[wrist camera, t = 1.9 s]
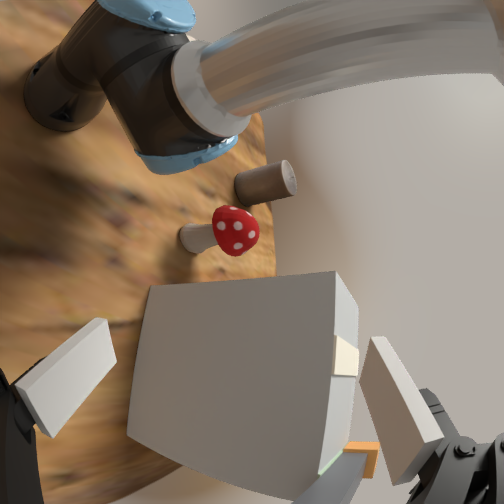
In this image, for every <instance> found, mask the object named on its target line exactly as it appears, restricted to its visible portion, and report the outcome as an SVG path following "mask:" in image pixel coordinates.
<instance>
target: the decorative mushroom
mask: <svg viewBox="0 0 504 504" xmlns="http://www.w3.org/2000/svg"><path fill="white" fill-rule="evenodd" d="M258 238H259V226H258V223H257V221H256V220H255V218H254V217H253V216H252V215H251V214H250V213H248V212H247V211H245V210H243V209H239V208H237V207H235V206H227V205H223V206H221V207H219V208H217V209H216V210H215V212H214V214H213V218H212V224H204V225H198V224H194V223H188V224H186V225H185V226H183V227H182V229H181V230H180V239H181V242H182V244H183V246H184V247H185V248H186V249H187V250H188V251H190V252H193V253H202V252H203V251H205V250H206V249H208V248H210V247H212V246H215V245H219V246H220V247H221V249H222V250H223V251H224V252H225V253H226V254H228V255H231V256H235V257H236V256H240V255H242V254H245V253H246V252H247V251H248V250H249V249H250V248H252V247H253V246H254V245H255V244H256V243H257V241H258Z"/></svg>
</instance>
